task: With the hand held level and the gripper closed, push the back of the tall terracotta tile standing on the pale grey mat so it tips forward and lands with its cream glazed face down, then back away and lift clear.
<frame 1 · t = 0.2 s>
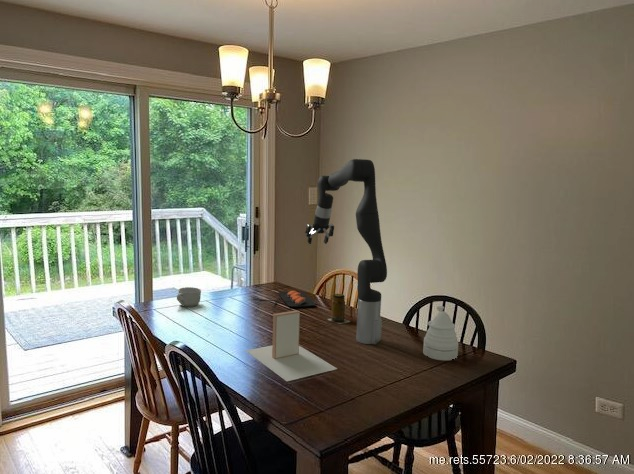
hand: (317, 243, 242), 31 cm above the table, tool tilted 20°, fingers open, 8 cm apart
honey pot: (440, 354, 183), on the table
sushi plate: (281, 302, 249), on the table
tile: (285, 355, 173), point 1 cm above the table, touching mat
mat: (289, 362, 170), on the table
condiment: (338, 321, 219), on the table
teacup: (187, 306, 234), on the table
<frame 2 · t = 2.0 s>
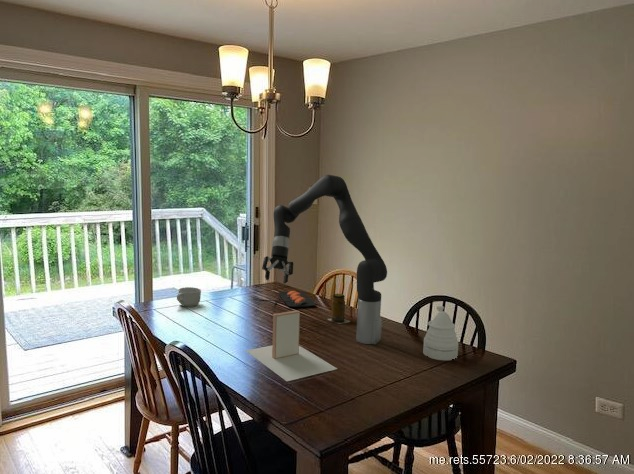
hand: (276, 281, 217), 17 cm above the table, tool tilted 25°, fingers open, 8 cm apart
nothing on the table moved.
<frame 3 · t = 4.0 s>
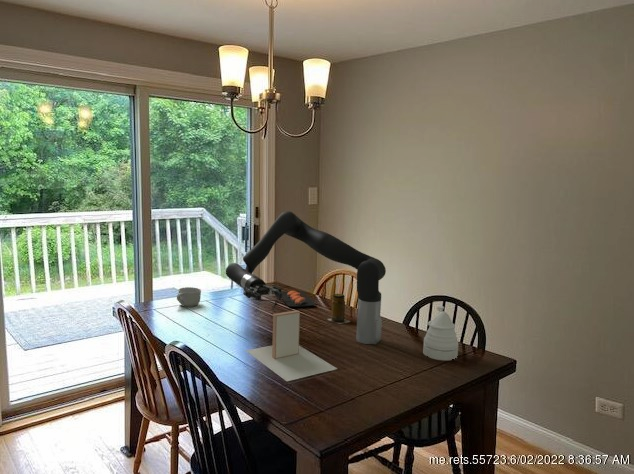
hand: (270, 297, 181), 20 cm above the table, tool horizontal, fingers open, 8 cm apart
nothing on the table moved.
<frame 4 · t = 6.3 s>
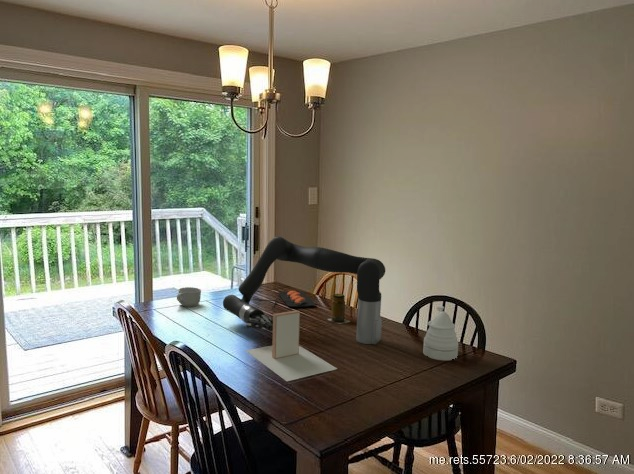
hand: (272, 328, 180), 8 cm above the table, tool horizontal, fingers closed
nothing on the table moved.
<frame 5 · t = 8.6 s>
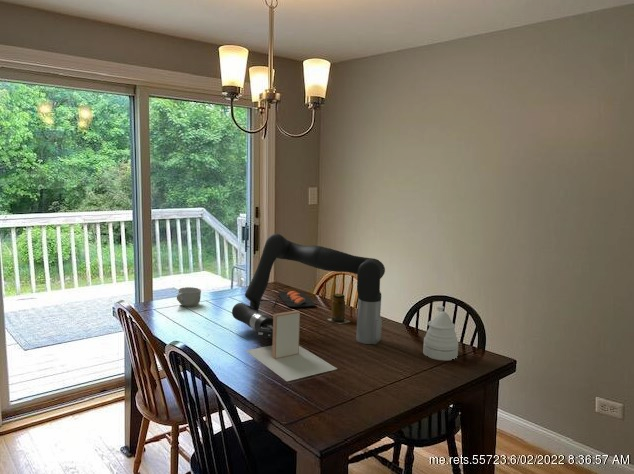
hand: (285, 337, 173), 8 cm above the table, tool horizontal, fingers closed
tile: (285, 355, 173), point 1 cm above the table, touching gripper, mat
everything else where it was.
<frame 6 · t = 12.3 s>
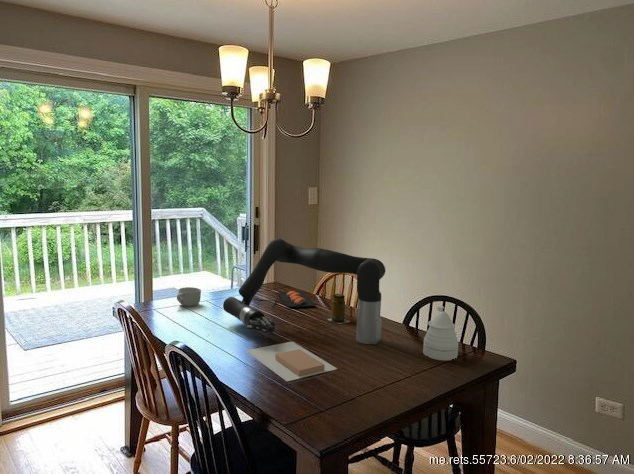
hand: (272, 330, 180), 8 cm above the table, tool horizontal, fingers closed
tile: (287, 354, 172), point 2 cm above the table, tilted 90°, touching mat
everything else where it was.
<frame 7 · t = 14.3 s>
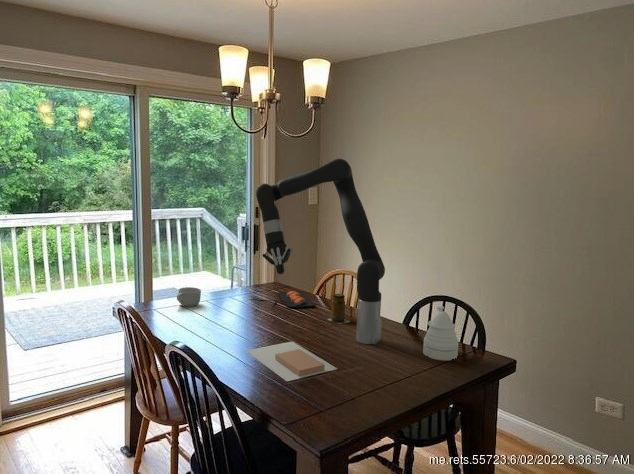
hand: (281, 273, 194), 26 cm above the table, tool tilted 20°, fingers closed
nothing on the table moved.
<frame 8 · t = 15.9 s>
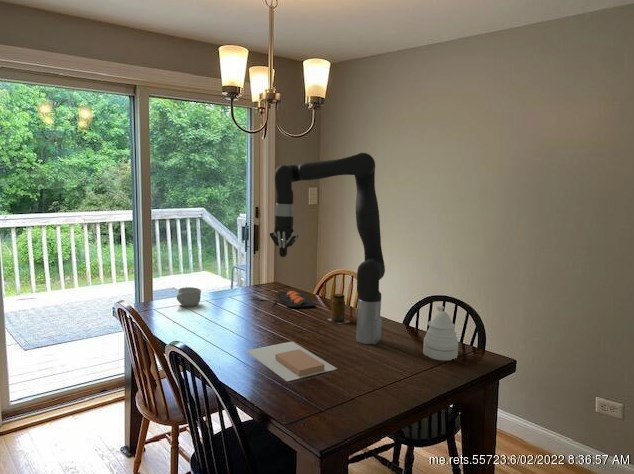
hand: (283, 256, 198), 32 cm above the table, tool pointing down, fingers closed
nothing on the table moved.
at the end: tile tilted 90°; tile touching mat; the gripper is holding nothing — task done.
